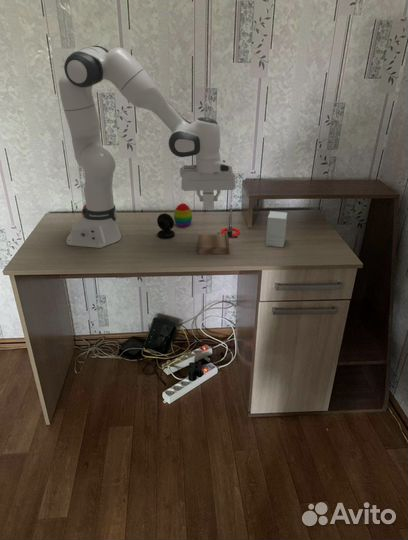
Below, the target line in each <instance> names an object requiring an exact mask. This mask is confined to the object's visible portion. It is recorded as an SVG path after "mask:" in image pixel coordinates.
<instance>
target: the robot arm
mask: <svg viewBox="0 0 408 540" xmlns="http://www.w3.org/2000/svg"><path fill="white" fill-rule="evenodd" d="M63 66H64V67H63V68H64V74H63V75H61V77H59V80H58V88H59V95H60V100H61V104H62V109H63V111H64V115H65V118H66V121H67V125H68V128H69V131H70V135H71V137H70V138H71V143H72V148H73V154H74V158H75V160H76V163H77V164H78V165H79V167H81V168H82V170H83V171H84V179H85V180H84V188H83V191H84V192H83V194H84V200H85V203H84V205H83V207H82V210H81V217H79V218H78V219H77V220H76V221H75V222H74V223H73V225H72V226H71V231H70V234H69V235H67V238H66V244H67V245H68V246H73V247H86V248H97V249H101V248H104V247H106V246H109V245H112V244H114V243H117V242H119V241H120V240H121V239H122V234H121V232H120V229H119V226H118V221H117V218H118V216H117V209H116V205H115V203H114V201H115V200H114V193H113V192H114V191H113V180H114V172H115V170H116V161H115V158H114V156H113V155H112V154H111V152H110V151H109V150H107V149H105V148H104V146H103V145H102V141H101V122H100V118H99V115H98V112H97V108H96V107H97V106H96V104H95V100H94V97H93V91H92V90H93V87H94V86H95V85H97V84H99V83H101V82H102V81H104V80H106V81H109V82H111V84H113V85H114V86H115V88H116V89H117V90H118V91H119V92H120V94H121V95H122V96H123V97H124V98H125V100H126V101H128V102H129V103H130V104H132V105H133V106H134V107H136V108H139V109H143V110H144V109H145V110H147V111H150V112H152V113H153V114H155V115H156V116H157V117H158V118H159V119H160V120H161V121H162V122H163V123H164V124H165V126H166V127H167V128H168V129H169V130H170V131H171V134H170V136H169V139H168V147H169V150H170V152H171V153H172V154H173V155H175V157H179V158H186V157H187V158H188V157H192V156H193V157H194V156H195V164H192V165H188V164H187V165H186V164H185V165H183V166H182V167H181V168H180V169H179V176H180V177H181V190H182V191H184V192H189V191H190V192H192V191H193V192H194V191H195V192H196V193H195V194H196V195H197V197H198V198H199V202H203V195H202V194H201V192H203V190H214V191H216V193H215V194H214V202H218V198H219V196H220V195H221V191H233V190H235V189H236V179H235V173H234V170H233V164H232V162H231V161H229V160H226V159H223V158H221V153H220V146H221V134H220V133H221V132H220V126H219V124H218V122H217V121H216V120H215V119H213V118H210V117H206V116H205V117H198V118H196V120H194V121H193V122H191V121H189V120H187V119H186V118H184V117H183V115H181V114H180V113H179V112H178V111H177V109H176V108H175V107H174V106H173V105H172V104H171V103H170V101H168V99H167V98H166V97H165V96H164V94H163V93H162V91H161V90H160V89H159V87H158V86H157V85H156V83H155V82H154V80H153V79H152V77H151V76H150V75H149V74H148V72H147V71H146V70H145V69H144V67H143V66H142V64H140V63H139V62H138V60H137V59H136V58H134V56H132V55H131V53H129V52H128V51H127V50H126V49H125V48H123V47H119V46H118V47H113V48H112V49H110V50H108V49H107V48H105V47H103V46H100V45H91V46H85V47H81V48H80V49H79V50H77V51H74V52H72V53H71V54H69V55H68V56H67V57H66V59H65V61H64V65H63Z"/></svg>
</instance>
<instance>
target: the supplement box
mask: <svg viewBox="0 0 408 540" xmlns="http://www.w3.org/2000/svg"><path fill="white" fill-rule="evenodd" d="M287 220H288V212H284V211H273V210H269V213H268V216H267V221H266V222H267V223H266V224H267V225H266V237H265V239H266V241H265V246H268V247H276V248H284V246H285V242H286V231H287V222H288V221H287Z"/></svg>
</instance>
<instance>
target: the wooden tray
mask: <svg viewBox="0 0 408 540" xmlns="http://www.w3.org/2000/svg"><path fill="white" fill-rule="evenodd" d="M229 238H230V237H228V232H227V231H225V235H222V234H198V255H229V254H230V240H229Z"/></svg>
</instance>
